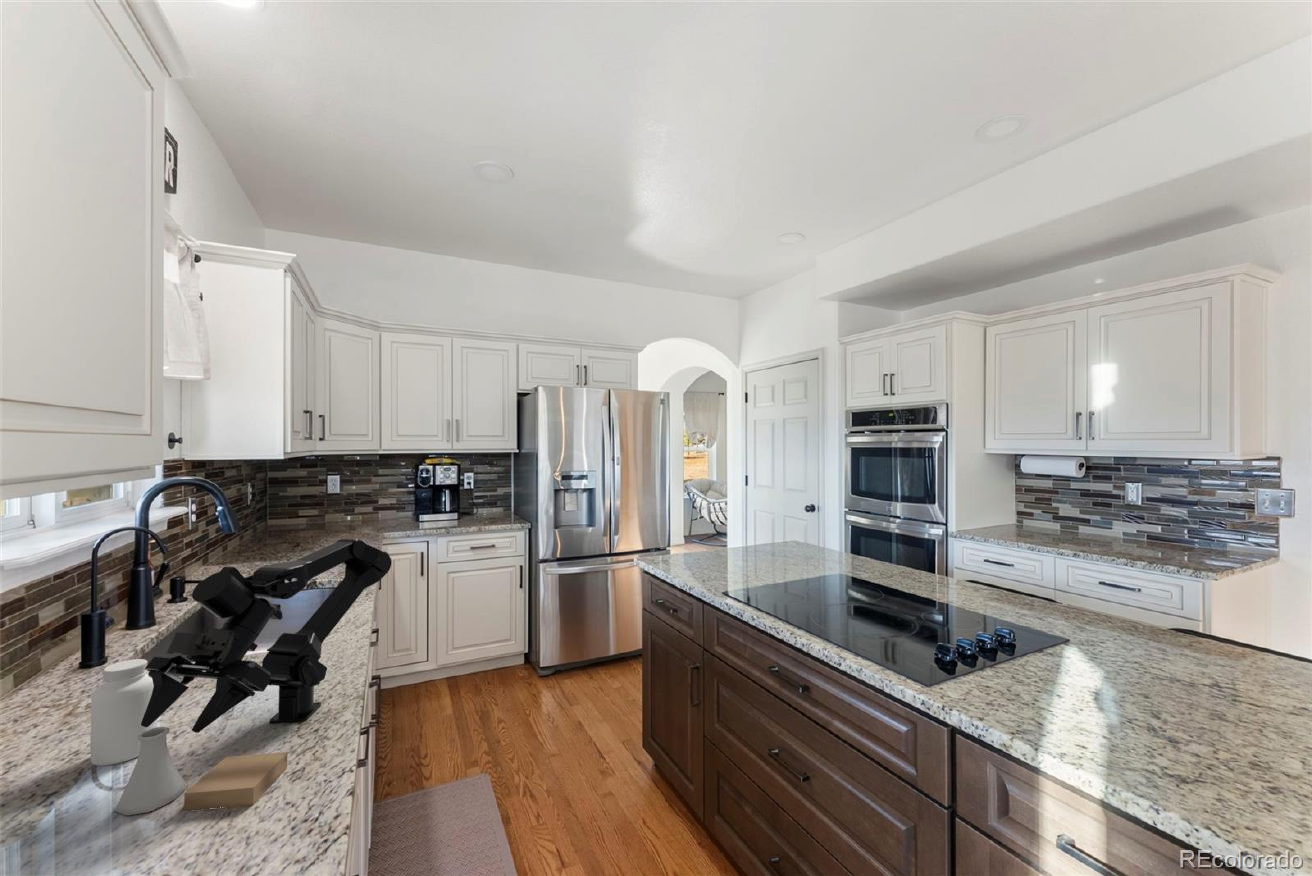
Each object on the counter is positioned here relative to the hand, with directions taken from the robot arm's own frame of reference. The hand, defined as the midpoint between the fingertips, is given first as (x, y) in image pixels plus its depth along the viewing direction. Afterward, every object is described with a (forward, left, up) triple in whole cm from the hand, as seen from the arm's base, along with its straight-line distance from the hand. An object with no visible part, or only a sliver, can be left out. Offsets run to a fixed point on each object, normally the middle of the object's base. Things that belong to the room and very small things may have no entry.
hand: (168, 729), depth 79 cm
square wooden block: (+1, +10, -10) cm, 14 cm away
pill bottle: (-12, -15, -9) cm, 21 cm away
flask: (+2, -1, -10) cm, 10 cm away
